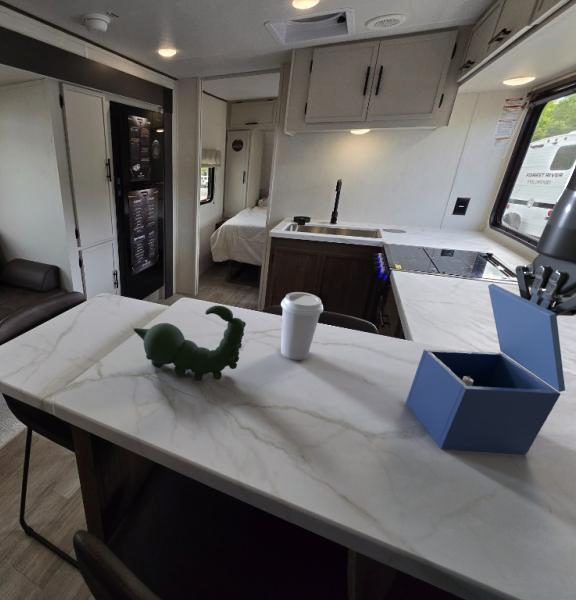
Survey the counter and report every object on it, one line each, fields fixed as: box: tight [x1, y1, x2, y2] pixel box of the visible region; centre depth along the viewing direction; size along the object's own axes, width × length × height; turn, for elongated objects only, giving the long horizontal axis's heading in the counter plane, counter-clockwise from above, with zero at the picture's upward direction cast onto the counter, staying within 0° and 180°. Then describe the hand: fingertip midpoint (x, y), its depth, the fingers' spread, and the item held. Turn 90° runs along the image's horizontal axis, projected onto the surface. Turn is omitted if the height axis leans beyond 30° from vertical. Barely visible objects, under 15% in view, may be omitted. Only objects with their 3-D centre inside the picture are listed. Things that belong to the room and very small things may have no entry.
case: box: [405, 349, 561, 455], centre depth 60 cm, size 14×12×13 cm
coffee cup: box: [280, 291, 324, 361], centre depth 83 cm, size 10×10×15 cm
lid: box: [487, 283, 566, 393], centre depth 55 cm, size 14×12×1 cm
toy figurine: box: [133, 305, 247, 382], centre depth 76 cm, size 9×19×25 cm
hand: (533, 332), depth 54 cm, fingers closed
